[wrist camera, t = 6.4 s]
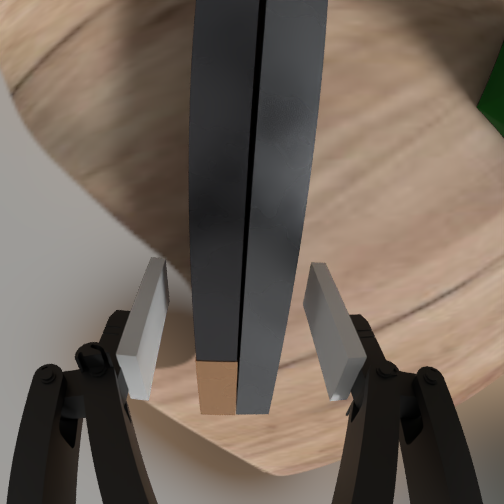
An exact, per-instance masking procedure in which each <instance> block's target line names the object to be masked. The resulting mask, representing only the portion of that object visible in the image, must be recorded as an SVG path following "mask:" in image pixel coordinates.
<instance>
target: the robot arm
mask: <svg viewBox="0 0 504 504" xmlns="http://www.w3.org/2000/svg"><path fill="white" fill-rule="evenodd" d="M168 305H169V291H168V280H167V270H166V258H151V259H150V262H149V264H148V267H147V269H146V272H145V274H144V277H143V279H142V282H141V285H140V287H139V290H138V293H137V295H136V298H135V301H134V303H133V306H132V309H131V311H123V310H116V311H115V312H114V313H113V314H112V315H111V316H110V317H109V319H108V321H107V324H106V327H105V329H104V331H103V334H102V336H101V339H100V341H99V343H97V342H90V343H87V344H84V345H83V346H81V347H80V348H79V349H78V350H77V352H76V354H75V360H76V362H77V364H78V367H79V369H78V370H73V371H65V372H62V370H61V368H60V367H58V366H57V365H54V364H46V365H43V366H41V367H40V368H39V369H37V371H36V372H35V374H34V376H33V379H32V383H31V386H30V389H29V393H28V397H27V400H26V404H25V407H24V411H23V415H22V420H21V423H20V427H19V432H18V436H17V441H16V446H15V451H14V456H13V461H12V467H11V473H10V480H9V487H8V496H7V504H76V486H77V471H78V459H79V448H80V439H81V430H82V423H83V418H86V421H87V428H88V434H89V441H90V446H91V452H92V457H93V462H94V467H95V472H96V476H97V481H98V485H99V489H100V493H101V497H102V501H103V504H158V503H157V501H156V498H155V495H154V492H153V489H152V486H151V483H150V481H149V478H148V474H147V471H146V468H145V465H144V462H143V459H142V455H141V452H140V449H139V445H138V442H137V438H136V434H135V430H134V427H133V423H132V419H131V415H130V411H129V407H128V404H127V401H126V399H127V395H128V392H129V395H130V397H131V398H132V399H139V400H149V397H150V391H151V386H152V381H153V375H154V370H155V365H156V360H157V355H158V351H159V346H160V341H161V336H162V332H163V327H164V323H165V318H166V314H167V310H168ZM303 306H304V309H305V313H306V316H307V320H308V323H309V327H310V330H311V334H312V337H313V341H314V344H315V348H316V351H317V355H318V358H319V362H320V366H321V369H322V373H323V377H324V380H325V384H326V388H327V391H328V395H329V399H330V401H336V400H346V399H347V398H348V396H349V394H350V392H351V393H352V396H353V401H352V403H351V405H350V407H349V409H348V411H347V413H346V415H347V416H348V415H349V420H348V426H347V432H346V437H345V443H344V448H343V454H342V459H341V464H340V469H339V473H338V478H337V483H336V487H335V491H334V495H333V500H332V504H393V499H394V491H395V482H396V472H397V461H398V460H397V459H398V447H399V442H400V447H401V452H402V457H403V463H404V468H405V474H406V479H407V485H408V492H409V498H410V504H483V502H482V498H481V493H480V489H479V485H478V481H477V477H476V473H475V469H474V466H473V462H472V459H471V455H470V452H469V449H468V445H467V442H466V439H465V436H464V433H463V430H462V426H461V424H460V421H459V418H458V415H457V412H456V409H455V406H454V404H453V401H452V398H451V395H450V393H449V390H448V387H447V385H446V382H445V380H444V377H443V376H442V374H441V373H440V372H439V371H438V370H437V369H435V368H433V367H428V366H426V367H422V368H421V369H419V370H418V372H417V374H414V373H407V372H402V371H399V369H398V368H397V367H396V365H395V364H393V363H392V362H390V361H387V360H386V359H385V357H384V355H383V352H382V350H381V348H380V346H379V344H378V342H377V340H376V338H375V335H374V333H373V331H372V329H371V327H370V325H369V323H368V321H367V320H366V319H365V318H364V317H363V316H361V315H360V314H357V315H349V314H348V311H347V309H346V307H345V305H344V302H343V300H342V298H341V296H340V294H339V291H338V289H337V287H336V285H335V283H334V281H333V278H332V276H331V274H330V272H329V270H328V268H327V266H326V263H314V262H311V266H310V272H309V277H308V282H307V287H306V292H305V297H304V302H303Z"/></svg>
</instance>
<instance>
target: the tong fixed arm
mask: <svg viewBox="0 0 504 504" xmlns="http://www.w3.org/2000/svg"><path fill="white" fill-rule="evenodd" d="M327 6H328V0H259V9H258V22H257V36H256V49H255V63H254V78H253V92H252V107H251V122H250V137H249V153H248V169H247V185H246V201H245V218H244V235H243V253H242V270H241V289H240V307H239V326H238V346H237V355H238V367H237V387H236V414H269V409H270V405H271V400H272V396H273V391H274V386H275V381H276V376H277V371H278V367H279V362H280V356H281V351H282V346H283V341H284V336H285V331H286V325H287V320H288V314H289V309H290V303H291V298H292V292H293V286H294V280H295V274H296V268H297V262H298V256H299V250H300V244H301V237H302V231H303V224H304V217H305V211H306V204H307V197H308V190H309V182H310V175H311V167H312V160H313V152H314V144H315V135H316V127H317V118H318V109H319V100H320V90H321V80H322V70H323V58H324V47H325V34H326V21H327Z"/></svg>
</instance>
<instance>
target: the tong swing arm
mask: <svg viewBox="0 0 504 504" xmlns="http://www.w3.org/2000/svg"><path fill="white" fill-rule="evenodd" d="M258 9H259V0H196V9H195V21H194V34H193V49H192V66H191V87H190V116H189V232H190V262H191V285H192V303H193V319H194V334H195V348H196V372H197V383H198V393H199V402H200V411H201V414H207V415H235V406H236V387H237V367H238V355H237V346H238V326H239V307H240V289H241V270H242V253H243V235H244V218H245V201H246V185H247V169H248V153H249V137H250V122H251V107H252V92H253V78H254V63H255V49H256V36H257V22H258Z"/></svg>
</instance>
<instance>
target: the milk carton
mask: <svg viewBox="0 0 504 504" xmlns="http://www.w3.org/2000/svg"><path fill="white" fill-rule="evenodd" d="M477 108H478V109H479V110H480V111H481V112H482V114H483V115H484V116H485V117H486V118H487V119H488V120H489V121H490V122H491V123H492V124H493V126H494V127H495V128H496V129H497V130H498V131H499V132H500V134H501V135H502V136H503V137H504V42H503V45H502V47H501V50H500V53H499V55H498V58H497V61H496V63H495V66H494V68H493V71H492V73H491V76H490V78H489V80H488V83H487V85H486V88H485V90H484V92H483V94H482V97H481V99H480V101H479V103H478V106H477Z"/></svg>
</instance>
